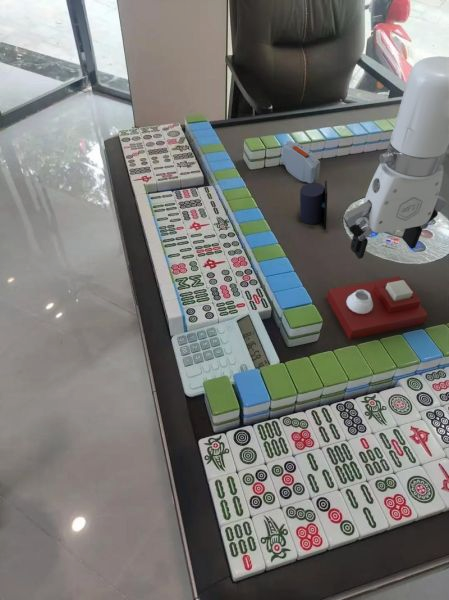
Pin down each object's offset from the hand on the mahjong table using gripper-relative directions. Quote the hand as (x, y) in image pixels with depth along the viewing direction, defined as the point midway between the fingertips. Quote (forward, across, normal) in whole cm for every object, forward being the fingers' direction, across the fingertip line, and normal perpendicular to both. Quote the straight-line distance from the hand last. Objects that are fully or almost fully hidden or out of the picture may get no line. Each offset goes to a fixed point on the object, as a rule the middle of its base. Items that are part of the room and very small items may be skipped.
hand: (382, 248), depth 74 cm
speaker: (+18, +2, +31) cm, 36 cm away
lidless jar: (+15, -1, 0) cm, 15 cm away
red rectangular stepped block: (+18, +3, 0) cm, 18 cm away
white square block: (+14, +7, 0) cm, 15 cm away
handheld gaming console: (+18, +6, +51) cm, 54 cm away
